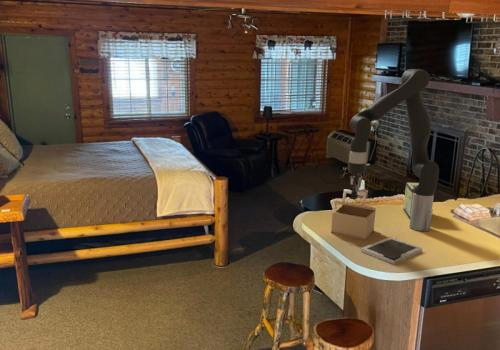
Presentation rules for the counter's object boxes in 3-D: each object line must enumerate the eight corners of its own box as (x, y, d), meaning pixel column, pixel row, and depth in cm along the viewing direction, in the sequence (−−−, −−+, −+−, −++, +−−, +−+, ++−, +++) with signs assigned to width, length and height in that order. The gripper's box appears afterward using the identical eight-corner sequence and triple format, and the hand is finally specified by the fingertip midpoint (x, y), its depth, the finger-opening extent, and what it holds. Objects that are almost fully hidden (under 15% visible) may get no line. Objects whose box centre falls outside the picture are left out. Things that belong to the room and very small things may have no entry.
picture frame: (393, 265, 187) (421, 252, 200) (394, 258, 186) (422, 246, 199) (360, 252, 199) (389, 241, 212) (361, 246, 198) (390, 235, 211)
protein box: (422, 210, 254) (426, 182, 250) (430, 220, 239) (434, 190, 235) (402, 209, 255) (405, 181, 251) (409, 219, 240) (412, 189, 236)
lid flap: (375, 209, 221) (378, 195, 221) (368, 208, 209) (371, 192, 209) (342, 204, 228) (344, 190, 229) (333, 202, 216) (336, 187, 216)
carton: (373, 230, 223) (375, 210, 221) (365, 239, 211) (367, 218, 209) (340, 224, 231) (342, 204, 228) (331, 232, 219) (332, 212, 216)
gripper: (361, 165, 204) (358, 203, 208) (369, 159, 216) (366, 196, 220) (344, 162, 208) (341, 200, 212) (353, 157, 219) (350, 193, 223)
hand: (354, 198), depth 216 cm, fingers closed on lid flap
